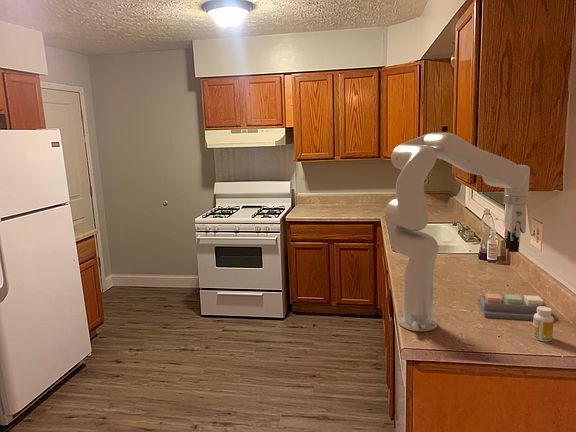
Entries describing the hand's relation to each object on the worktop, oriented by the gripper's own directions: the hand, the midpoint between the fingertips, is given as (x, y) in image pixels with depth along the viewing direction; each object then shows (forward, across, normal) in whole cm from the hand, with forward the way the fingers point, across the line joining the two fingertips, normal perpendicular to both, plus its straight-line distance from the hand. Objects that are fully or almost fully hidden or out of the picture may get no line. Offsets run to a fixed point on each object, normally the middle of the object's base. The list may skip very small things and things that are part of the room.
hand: (512, 249), depth 158 cm
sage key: (+19, -6, 0) cm, 20 cm away
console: (+21, -6, 0) cm, 22 cm away
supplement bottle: (+21, -26, -4) cm, 34 cm away
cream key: (+19, -6, -7) cm, 21 cm away
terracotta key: (+19, -6, +6) cm, 21 cm away
